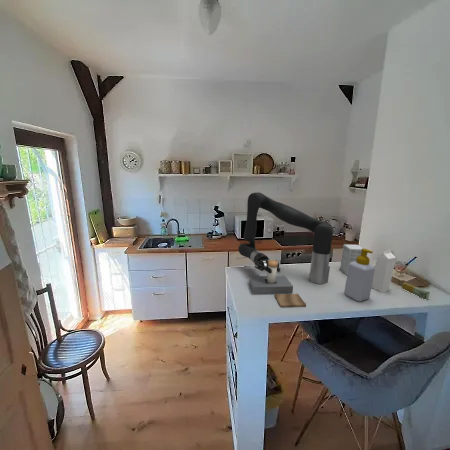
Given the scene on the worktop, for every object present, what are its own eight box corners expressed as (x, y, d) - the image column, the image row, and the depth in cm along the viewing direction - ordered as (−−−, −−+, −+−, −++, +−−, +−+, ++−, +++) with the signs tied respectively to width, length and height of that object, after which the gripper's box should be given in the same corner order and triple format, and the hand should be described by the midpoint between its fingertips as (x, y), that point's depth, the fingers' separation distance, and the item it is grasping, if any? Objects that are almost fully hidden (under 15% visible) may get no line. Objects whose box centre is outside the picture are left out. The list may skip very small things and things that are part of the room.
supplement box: (361, 276, 149) (366, 249, 145) (346, 275, 149) (350, 249, 145) (353, 269, 159) (358, 244, 155) (339, 269, 159) (343, 243, 155)
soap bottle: (359, 302, 120) (367, 253, 114) (342, 294, 127) (350, 247, 121) (370, 298, 124) (379, 251, 118) (354, 290, 131) (362, 245, 125)
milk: (388, 290, 133) (397, 251, 127) (381, 292, 130) (389, 253, 125) (378, 285, 138) (386, 248, 133) (370, 287, 136) (378, 249, 130)
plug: (274, 284, 133) (276, 259, 130) (276, 288, 129) (279, 263, 125) (265, 284, 133) (267, 260, 129) (267, 288, 128) (269, 263, 125)
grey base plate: (284, 282, 138) (285, 275, 137) (292, 293, 126) (293, 286, 125) (249, 283, 136) (249, 276, 135) (253, 294, 124) (254, 287, 123)
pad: (297, 295, 124) (297, 293, 124) (305, 306, 115) (306, 304, 114) (274, 296, 123) (274, 294, 123) (280, 307, 113) (280, 305, 113)
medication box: (428, 299, 125) (430, 292, 124) (425, 300, 124) (427, 293, 123) (404, 288, 136) (405, 281, 135) (400, 289, 135) (402, 282, 134)
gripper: (248, 253, 138) (263, 265, 122) (270, 251, 143) (288, 262, 127) (247, 266, 140) (262, 279, 124) (269, 263, 145) (286, 276, 129)
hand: (275, 271), depth 126 cm, fingers closed on plug, 4 cm apart
